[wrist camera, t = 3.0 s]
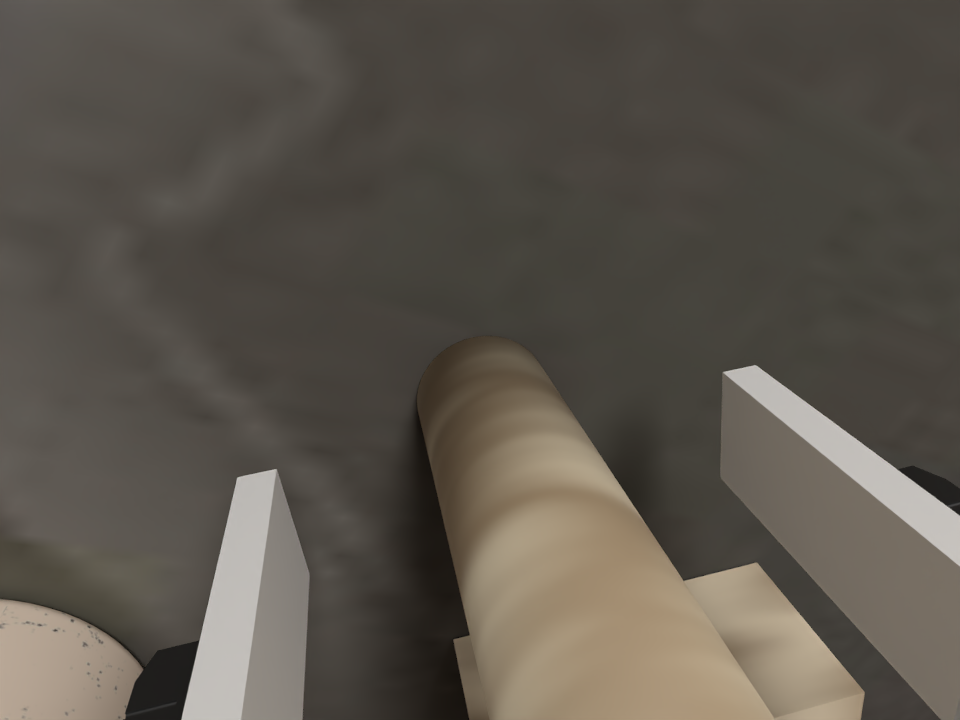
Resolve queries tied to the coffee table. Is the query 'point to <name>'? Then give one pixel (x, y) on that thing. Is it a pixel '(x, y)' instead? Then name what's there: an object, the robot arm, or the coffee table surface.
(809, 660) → the block
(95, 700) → the teacup with lid
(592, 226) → the coffee table surface
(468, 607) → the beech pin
